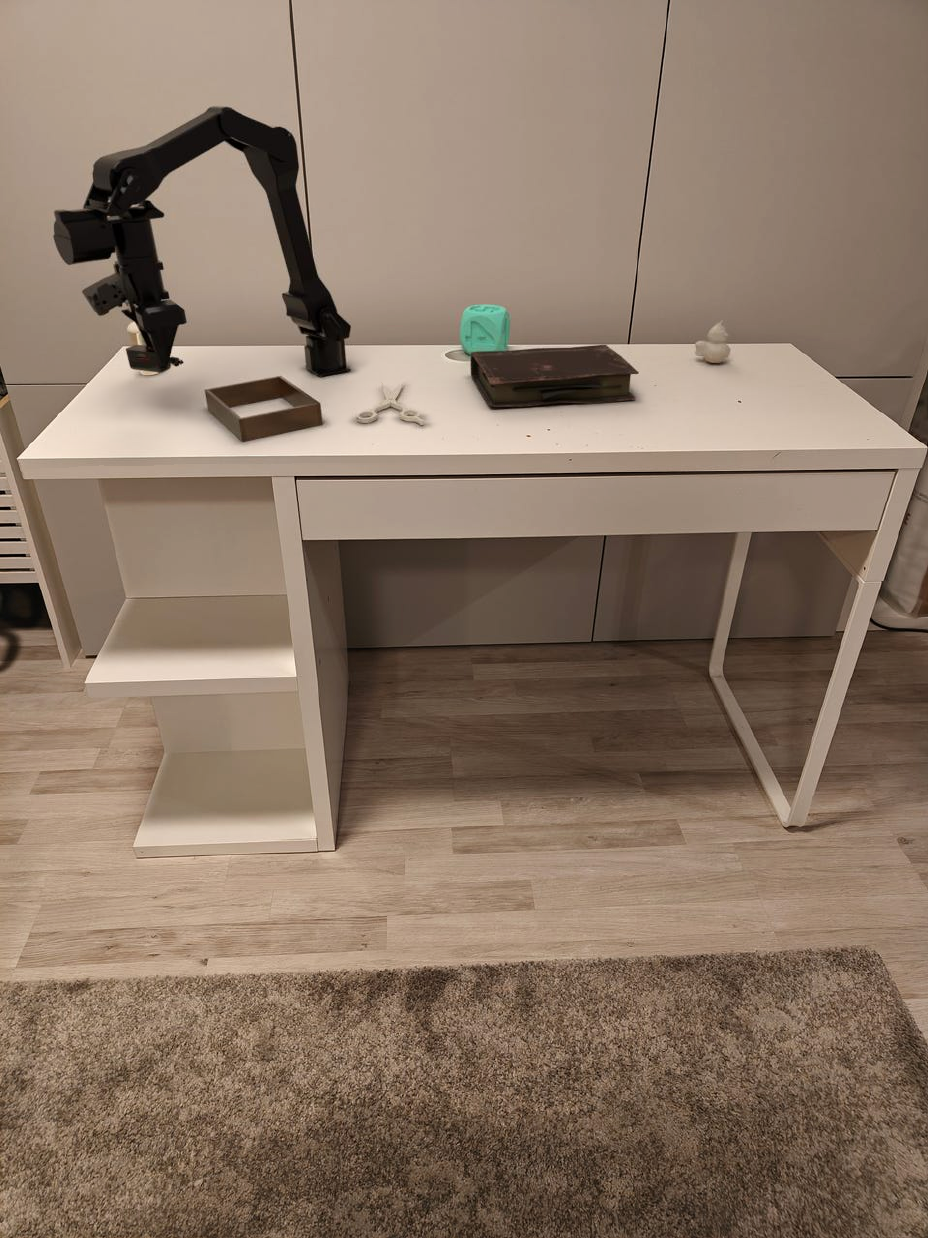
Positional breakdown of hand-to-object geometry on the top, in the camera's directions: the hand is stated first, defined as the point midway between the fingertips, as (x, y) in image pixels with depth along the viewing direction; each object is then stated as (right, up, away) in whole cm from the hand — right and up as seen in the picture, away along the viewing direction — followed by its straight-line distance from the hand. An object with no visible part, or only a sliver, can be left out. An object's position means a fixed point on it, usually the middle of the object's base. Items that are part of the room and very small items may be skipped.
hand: (159, 361), depth 130 cm
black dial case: (-1, -1, +1) cm, 2 cm away
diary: (+63, -1, +14) cm, 64 cm away
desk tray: (+16, -8, +3) cm, 18 cm away
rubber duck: (+94, +8, +27) cm, 99 cm away
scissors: (+36, -5, +8) cm, 37 cm away
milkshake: (-10, +5, +22) cm, 25 cm away
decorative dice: (+52, +12, +33) cm, 63 cm away
